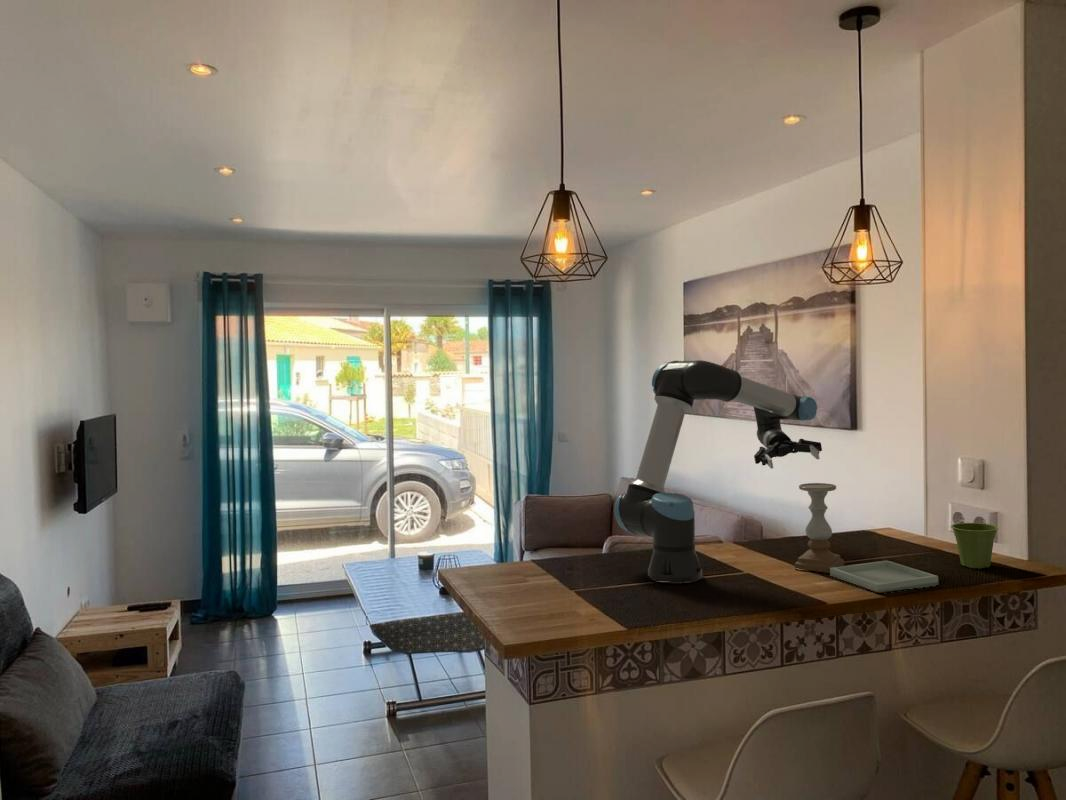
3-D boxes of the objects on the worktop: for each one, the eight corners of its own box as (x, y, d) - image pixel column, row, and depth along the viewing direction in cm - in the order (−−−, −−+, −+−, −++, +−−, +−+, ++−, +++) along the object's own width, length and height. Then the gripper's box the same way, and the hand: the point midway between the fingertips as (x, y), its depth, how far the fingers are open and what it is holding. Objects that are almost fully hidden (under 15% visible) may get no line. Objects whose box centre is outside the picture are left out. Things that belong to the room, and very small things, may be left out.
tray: (877, 594, 211) (877, 584, 211) (830, 576, 229) (829, 567, 229) (938, 585, 217) (938, 576, 217) (887, 569, 235) (887, 560, 235)
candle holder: (832, 574, 232) (830, 489, 231) (794, 569, 239) (791, 487, 237) (844, 565, 241) (842, 483, 240) (807, 561, 247) (805, 481, 246)
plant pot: (987, 560, 240) (986, 521, 240) (1006, 570, 228) (1006, 530, 228) (944, 561, 241) (944, 522, 241) (961, 571, 229) (961, 531, 229)
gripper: (818, 446, 266) (839, 463, 245) (741, 461, 268) (754, 479, 247) (814, 423, 265) (834, 438, 244) (736, 439, 267) (750, 455, 246)
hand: (794, 459), depth 246 cm, fingers open, 13 cm apart
